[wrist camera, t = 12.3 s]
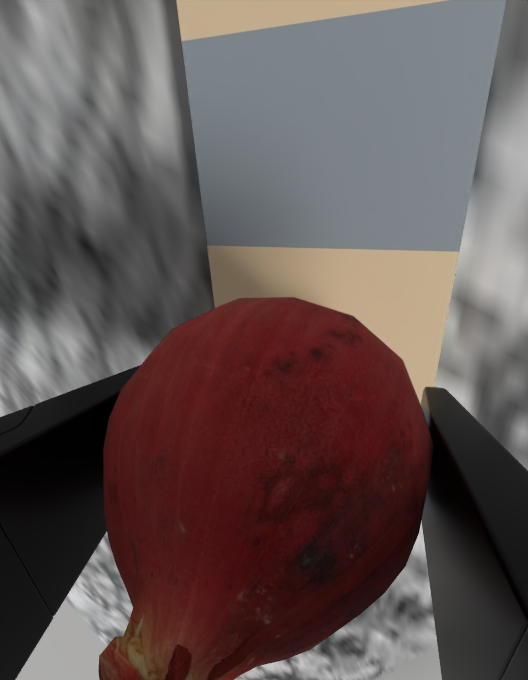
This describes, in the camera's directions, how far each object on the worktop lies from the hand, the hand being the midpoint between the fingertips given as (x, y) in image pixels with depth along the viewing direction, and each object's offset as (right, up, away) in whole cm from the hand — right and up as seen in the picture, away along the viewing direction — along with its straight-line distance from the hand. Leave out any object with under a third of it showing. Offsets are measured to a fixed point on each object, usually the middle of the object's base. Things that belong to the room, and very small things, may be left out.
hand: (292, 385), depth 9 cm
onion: (+1, +1, +2) cm, 2 cm away
